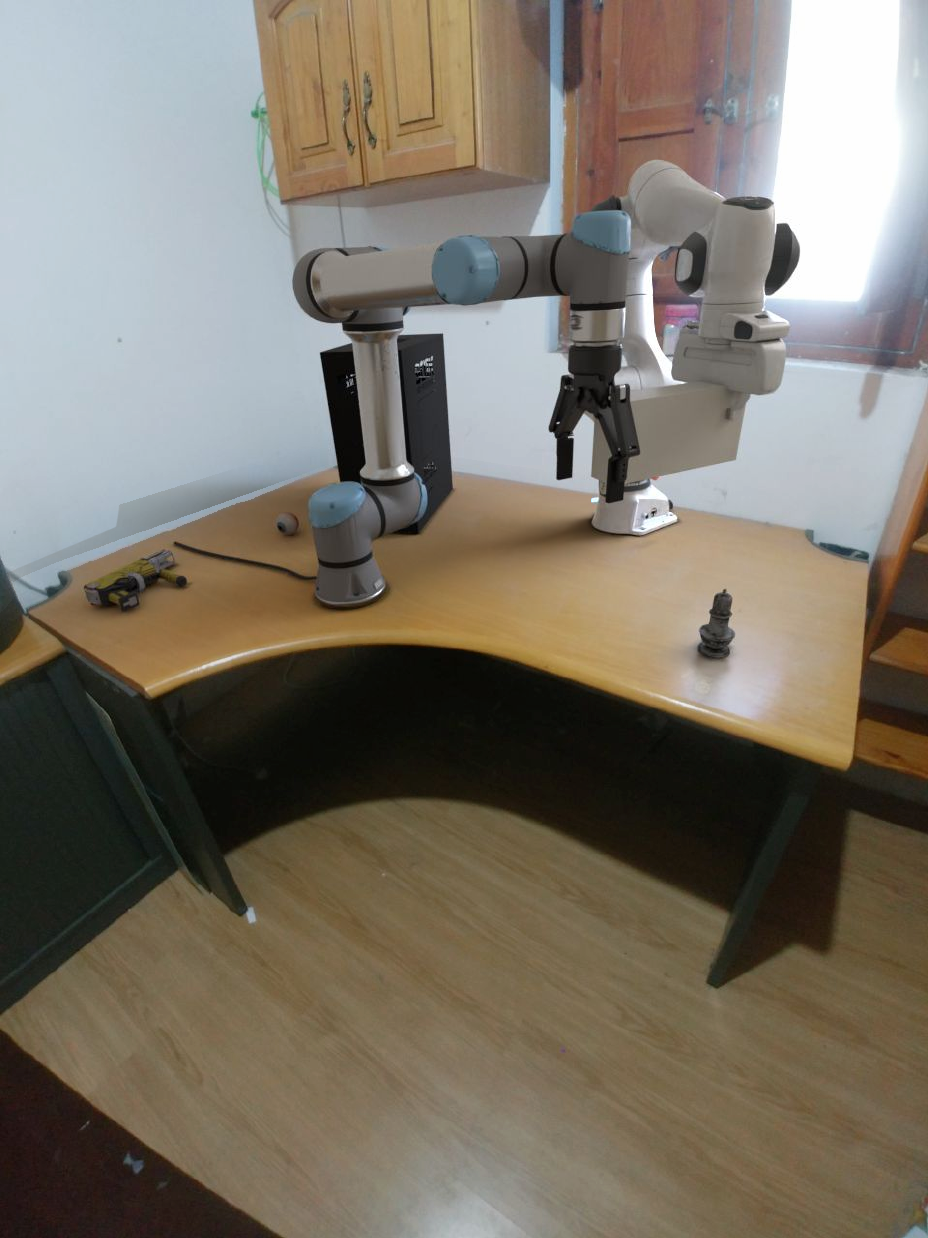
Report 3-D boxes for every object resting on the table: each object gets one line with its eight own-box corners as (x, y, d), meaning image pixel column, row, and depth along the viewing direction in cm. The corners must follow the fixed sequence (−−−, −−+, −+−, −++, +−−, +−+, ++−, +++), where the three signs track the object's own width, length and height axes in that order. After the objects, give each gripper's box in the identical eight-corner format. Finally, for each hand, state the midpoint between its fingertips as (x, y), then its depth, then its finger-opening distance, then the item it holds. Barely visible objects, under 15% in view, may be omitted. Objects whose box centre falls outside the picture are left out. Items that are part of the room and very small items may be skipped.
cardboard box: (418, 533, 160) (401, 349, 138) (347, 530, 165) (319, 352, 142) (452, 488, 192) (443, 333, 169) (392, 487, 196) (375, 335, 174)
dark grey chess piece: (734, 659, 103) (747, 597, 97) (698, 657, 104) (708, 596, 98) (728, 641, 108) (740, 581, 102) (694, 639, 109) (704, 580, 103)
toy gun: (210, 557, 146) (160, 546, 150) (132, 599, 126) (77, 585, 130) (213, 575, 148) (164, 564, 152) (137, 618, 128) (82, 604, 132)
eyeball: (273, 537, 164) (268, 516, 161) (287, 528, 169) (282, 508, 166) (291, 539, 161) (286, 518, 158) (305, 530, 166) (301, 510, 163)
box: (709, 452, 107) (721, 377, 101) (736, 460, 102) (750, 382, 96) (590, 476, 99) (595, 396, 92) (613, 486, 94) (619, 402, 87)
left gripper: (528, 339, 94) (527, 473, 104) (630, 352, 74) (617, 517, 84) (568, 335, 96) (564, 466, 107) (678, 347, 76) (659, 507, 87)
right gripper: (667, 321, 100) (658, 408, 107) (767, 328, 84) (749, 430, 91) (696, 318, 102) (685, 403, 109) (800, 324, 86) (779, 424, 93)
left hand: (587, 489), depth 96 cm, fingers open, 13 cm apart
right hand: (715, 415), depth 100 cm, fingers closed on box, 6 cm apart
